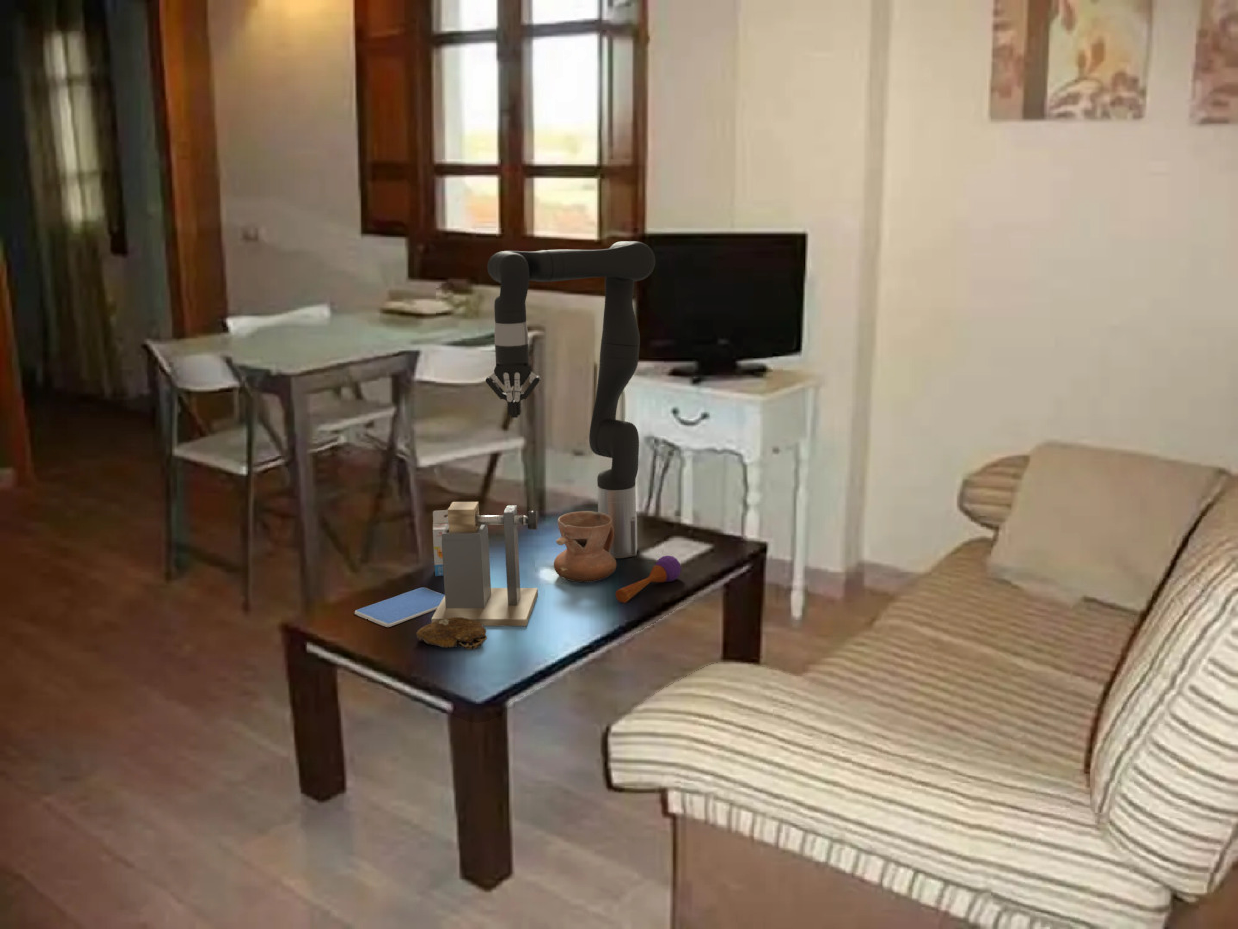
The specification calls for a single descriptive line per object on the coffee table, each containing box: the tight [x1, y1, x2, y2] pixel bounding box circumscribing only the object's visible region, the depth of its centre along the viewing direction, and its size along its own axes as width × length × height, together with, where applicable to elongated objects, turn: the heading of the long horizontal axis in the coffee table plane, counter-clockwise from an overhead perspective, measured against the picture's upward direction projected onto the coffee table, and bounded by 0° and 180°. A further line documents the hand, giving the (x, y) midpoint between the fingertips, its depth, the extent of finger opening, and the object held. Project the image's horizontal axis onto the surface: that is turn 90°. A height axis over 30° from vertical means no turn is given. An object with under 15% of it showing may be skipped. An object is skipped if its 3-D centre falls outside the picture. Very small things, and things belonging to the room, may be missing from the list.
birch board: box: [431, 587, 539, 627], centre depth 258 cm, size 20×18×2 cm
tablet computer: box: [354, 586, 445, 628], centre depth 260 cm, size 19×13×1 cm, turn 138°
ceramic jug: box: [553, 510, 618, 583], centre depth 275 cm, size 18×14×14 cm
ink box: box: [432, 509, 448, 577], centre depth 279 cm, size 8×5×15 cm, turn 98°
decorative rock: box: [415, 617, 488, 650], centre depth 242 cm, size 11×4×15 cm
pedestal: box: [442, 525, 492, 609], centre depth 256 cm, size 8×8×17 cm
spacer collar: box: [447, 501, 480, 533], centre depth 254 cm, size 6×6×6 cm
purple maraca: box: [615, 555, 682, 604], centre depth 267 cm, size 6×6×20 cm
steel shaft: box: [445, 510, 539, 530], centre depth 253 cm, size 20×4×4 cm, turn 86°
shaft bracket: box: [503, 504, 521, 606], centre depth 255 cm, size 2×5×21 cm, turn 176°
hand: (514, 416), depth 272 cm, fingers closed
